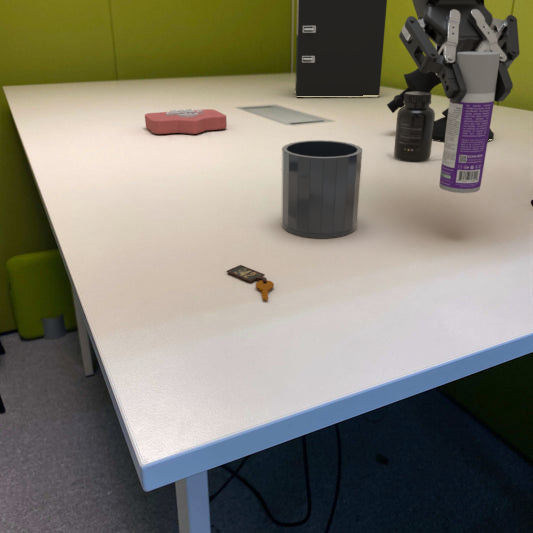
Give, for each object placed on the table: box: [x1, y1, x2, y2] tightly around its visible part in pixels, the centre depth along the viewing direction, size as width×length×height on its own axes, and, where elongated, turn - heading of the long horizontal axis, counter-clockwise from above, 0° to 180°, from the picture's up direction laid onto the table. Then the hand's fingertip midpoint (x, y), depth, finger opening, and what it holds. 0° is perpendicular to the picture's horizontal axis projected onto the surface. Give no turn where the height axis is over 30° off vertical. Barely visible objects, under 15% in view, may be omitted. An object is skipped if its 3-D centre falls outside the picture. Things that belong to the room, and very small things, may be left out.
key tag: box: [226, 264, 275, 301], centre depth 56 cm, size 8×3×1 cm, turn 32°
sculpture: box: [386, 42, 495, 142], centre depth 118 cm, size 15×24×25 cm, turn 82°
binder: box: [294, 0, 388, 97], centre depth 179 cm, size 27×15×32 cm, turn 89°
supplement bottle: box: [393, 91, 436, 163], centre depth 102 cm, size 7×7×12 cm
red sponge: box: [144, 108, 228, 135], centre depth 131 cm, size 18×4×15 cm
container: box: [438, 52, 500, 194], centre depth 62 cm, size 5×5×15 cm
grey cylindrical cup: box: [280, 139, 363, 239], centre depth 70 cm, size 10×10×10 cm
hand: (481, 97), depth 59 cm, fingers closed on container, 4 cm apart
